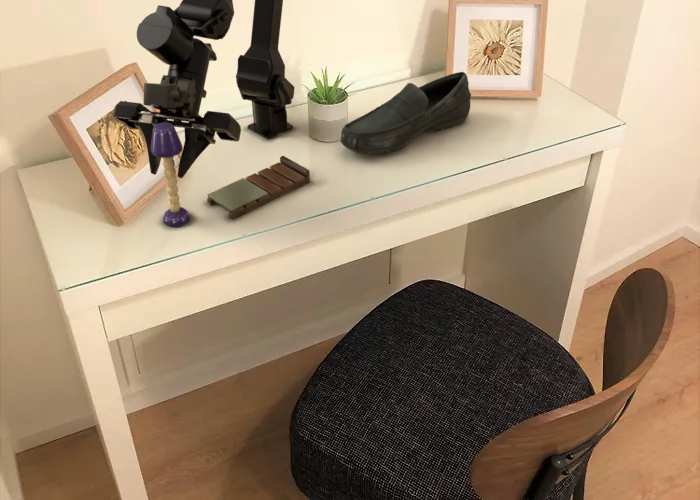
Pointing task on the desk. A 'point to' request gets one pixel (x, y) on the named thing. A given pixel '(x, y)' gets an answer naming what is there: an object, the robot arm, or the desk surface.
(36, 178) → the desk surface
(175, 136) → the toy lamp
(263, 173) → the toy bed
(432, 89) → the loafer
